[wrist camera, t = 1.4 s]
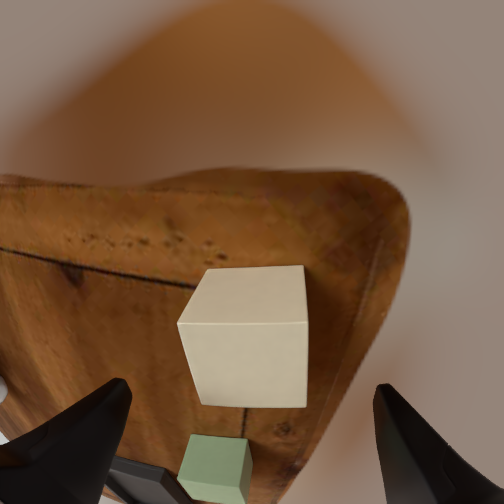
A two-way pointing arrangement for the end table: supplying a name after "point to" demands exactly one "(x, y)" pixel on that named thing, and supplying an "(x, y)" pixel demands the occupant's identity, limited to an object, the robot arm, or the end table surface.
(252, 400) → the block
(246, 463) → the block
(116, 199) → the end table surface
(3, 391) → the figurine
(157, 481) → the tray
